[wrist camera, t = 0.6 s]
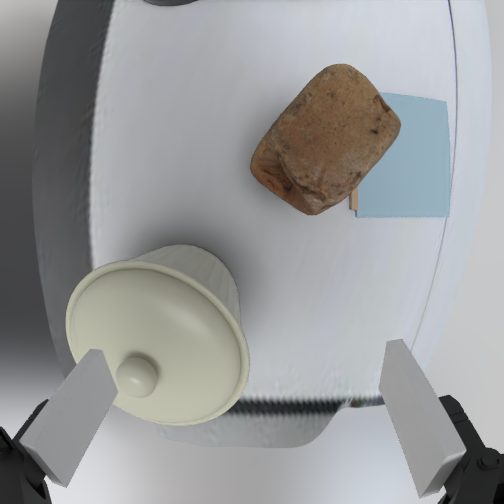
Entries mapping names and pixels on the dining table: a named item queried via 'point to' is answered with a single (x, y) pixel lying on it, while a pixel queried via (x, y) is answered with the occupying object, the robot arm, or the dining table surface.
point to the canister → (164, 333)
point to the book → (410, 165)
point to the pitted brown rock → (326, 140)
